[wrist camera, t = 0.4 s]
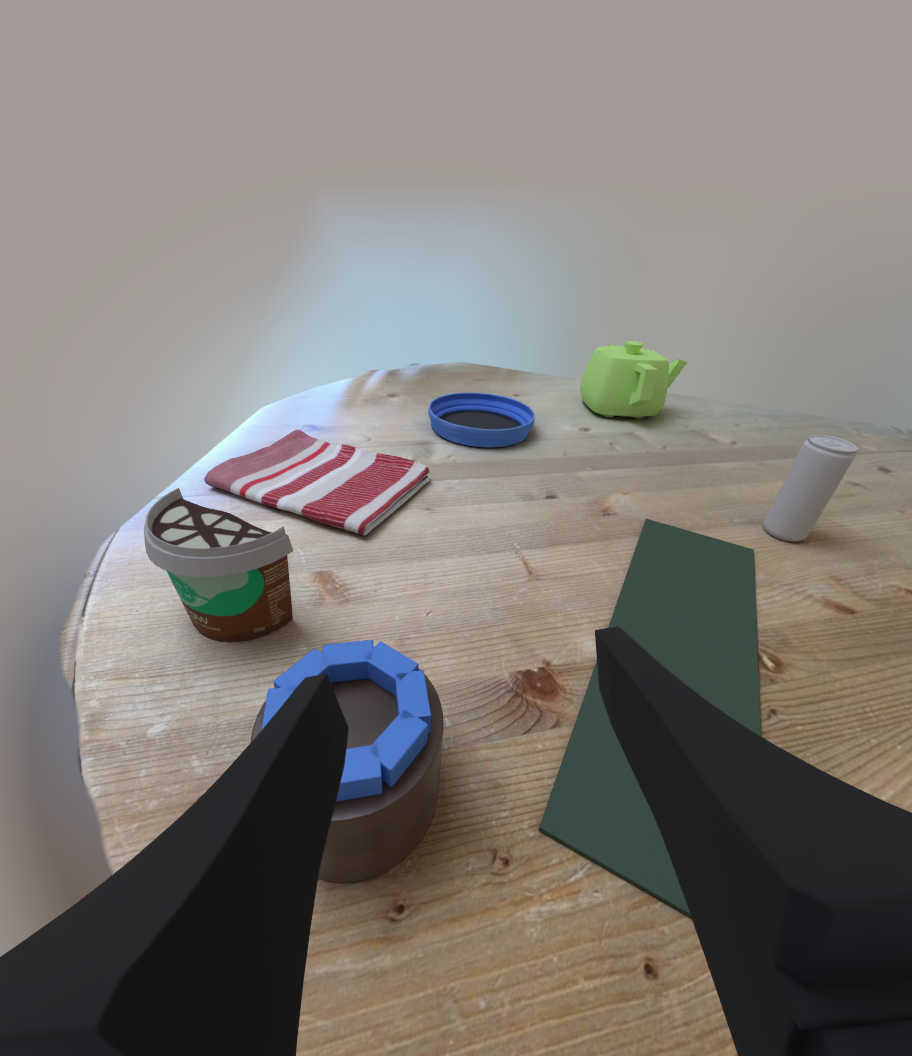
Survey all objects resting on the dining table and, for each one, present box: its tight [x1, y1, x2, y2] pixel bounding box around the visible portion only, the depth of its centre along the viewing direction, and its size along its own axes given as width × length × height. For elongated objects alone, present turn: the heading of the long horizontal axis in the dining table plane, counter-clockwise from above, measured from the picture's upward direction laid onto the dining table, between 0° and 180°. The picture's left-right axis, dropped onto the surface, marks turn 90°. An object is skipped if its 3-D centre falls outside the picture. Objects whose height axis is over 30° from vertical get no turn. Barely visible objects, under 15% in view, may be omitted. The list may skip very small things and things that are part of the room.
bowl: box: [429, 393, 535, 447], centre depth 78 cm, size 18×18×4 cm
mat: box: [539, 519, 761, 918], centre depth 40 cm, size 40×12×1 cm, turn 152°
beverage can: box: [763, 435, 858, 542], centre depth 53 cm, size 5×5×12 cm
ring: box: [262, 640, 431, 802], centre depth 24 cm, size 8×8×2 cm
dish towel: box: [205, 430, 430, 536], centre depth 59 cm, size 17×23×3 cm
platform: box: [251, 668, 443, 883], centre depth 26 cm, size 10×10×7 cm
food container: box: [144, 488, 293, 642], centre depth 36 cm, size 12×6×10 cm, turn 64°
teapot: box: [580, 341, 687, 418], centre depth 89 cm, size 18×20×13 cm
